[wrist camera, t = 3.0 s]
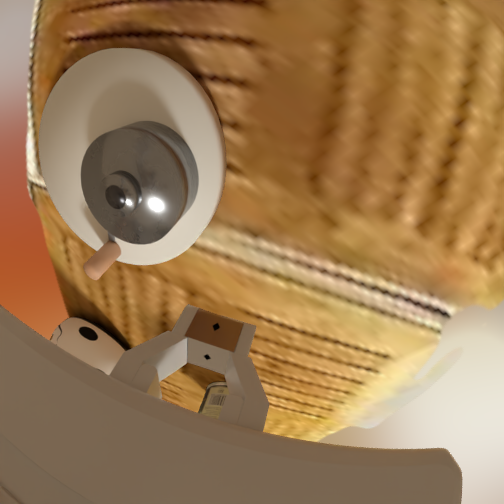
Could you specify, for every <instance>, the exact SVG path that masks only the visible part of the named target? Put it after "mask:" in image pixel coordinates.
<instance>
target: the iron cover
mask: <svg viewBox="0 0 504 504" xmlns="http://www.w3.org/2000/svg"><path fill="white" fill-rule="evenodd" d="M81 186H82V191H83V195H84V198H85V201H86V203H87V205H88V207H89V209H90V211H91V213H92V214H93V216H94V217H95V219H96V220H97V221H98V222H99V224H100V225H101V226H102V227H103V228H104V229H105V230H107V231H108V232H109V233H110V234H112V235H113V236H115V237H116V238H118V239H120V240H122V241H125V242H128V243H132V244H138V245H145V244H151V243H154V242H156V241H158V240H160V239H162V238H163V237H164V236H166V234H167V233H168V232H169V231H170V230H171V229H172V228H173V227H174V226H175V225H176V223H177V222H178V221H179V220H180V219H181V218H182V217H183V216H184V215H185V214H186V212H187V211H188V210H189V209H190V208H191V206H192V205H193V203H194V201H195V199H196V195H197V192H198V186H199V175H198V168H197V164H196V161H195V158H194V155H193V153H192V151H191V149H190V148H189V146H188V145H187V143H186V142H185V141H184V139H183V138H182V137H181V136H180V135H179V134H178V133H177V132H175V131H174V130H173V129H171V128H170V127H168V126H166V125H164V124H161V123H158V122H154V121H138V122H135V123H132V124H129V125H126V126H123V127H120V128H117V129H115V130H112V131H109V132H107V133H104V134H102V135H100V136H99V137H98V138H96V139H95V140H94V141H93V142H92V143H91V144H90V146H89V147H88V149H87V150H86V152H85V155H84V157H83V161H82V165H81Z"/></svg>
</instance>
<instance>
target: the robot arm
mask: <svg viewBox="0 0 504 504" xmlns="http://www.w3.org/2000/svg"><path fill="white" fill-rule="evenodd" d="M255 330H256V326H255V325H252V324H248V323H244V322H242V321H239V320H235V319H232V318H228V317H225V316H221V315H218V314H215V313H212V312H209V311H206V310H203V309H201V308H197V307H195V306H192V305H189V304H188V305H187V306H186V307H185V309H184V310H183V312H182V314H181V316H180V317H179V319H178V321H177V323H176V324H175V326H174V328H173V330H172V332H171V331H166V332H164V333H162V334H160V335H158V336H156V337H154V338H152V339H150V340H148V341H146V342H144V343H142V344H140V345H138V346H136V347H134V348H132V349H130V350H128V351H125V352H124V353H123V354H122V356H121V357H120V359H119V360H118V362H117V364H116V365H115V367H114V368H113V370H112V372H111V373H110V375H107V374H105V373H104V372H102V371H100V370H98V369H96V368H94V367H92V366H91V365H89V364H87V363H85V362H83V361H82V360H80V359H78V358H76V357H75V356H73V355H71V354H70V353H68V352H66V351H65V350H63V349H62V348H60V347H58V346H57V345H55V344H54V343H52V342H51V341H49V340H47V339H46V338H45V337H43V336H42V335H40V334H39V333H37V332H36V331H34V330H33V329H32V328H30V327H29V326H27V325H26V324H25V323H23V322H22V321H20V320H19V319H18V318H17V317H15V316H14V315H13V314H11V313H10V312H9V311H7V310H6V309H5V308H4V307H2V306H1V305H0V504H461V498H462V472H461V469H460V467H459V465H458V464H457V462H456V461H455V459H454V458H453V457H452V455H451V454H450V452H449V451H448V450H447V449H444V448H431V449H380V448H364V447H351V446H342V445H333V444H325V443H318V442H312V441H306V440H300V439H294V438H289V437H284V436H279V435H274V434H270V433H266V432H263V429H264V425H265V420H266V416H267V412H268V408H269V402H268V399H267V397H266V395H265V392H264V390H263V387H262V385H261V382H260V380H259V377H258V375H257V372H256V369H255V367H254V364H253V362H252V359H251V358H249V357H248V354H249V351H250V347H251V344H252V340H253V337H254V334H255ZM187 362H188V363H191V364H194V365H197V366H200V367H203V368H206V369H209V370H212V371H215V372H218V373H221V374H224V375H225V379H226V383H227V387H228V390H229V395H227V396H226V398H225V401H224V404H223V406H222V409H221V412H220V415H219V417H218V419H214V418H211V417H208V416H205V415H202V414H199V413H196V412H193V411H191V410H188V409H185V408H182V407H180V406H177V405H174V404H172V403H169V402H167V401H164V400H162V399H161V398H162V394H161V389H160V383H159V382H160V381H161V380H163V379H164V378H166V377H167V376H169V375H170V374H172V373H173V372H175V371H176V370H178V369H179V368H181V367H182V366H184V365H185V364H187Z"/></svg>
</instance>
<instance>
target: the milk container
mask: <svg viewBox="0 0 504 504" xmlns="http://www.w3.org/2000/svg"><path fill="white" fill-rule="evenodd" d="M50 341H51V342H52V343H54V344H55V345H57V346H58V347H60V348H62V349H63V350H65V351H66V352H68V353H70V354H71V355H73V356H75V357H76V358H78V359H80V360H82V361H83V362H85V363H87V364H89V365H91V366H92V367H94V368H96V369H98V370H100V371H102V372H104V373H105V374H107V375H110V373H111V372H112V370H113V368H114V367H115V365H116V364H117V362H118V360H119V359H120V357H121V356H122V354H123V353H124V352H125V351H128V350H127V349H126V348H125V347H124V346H123V344H122V343H121V342H120V341H118V340H117V339H116V338H115V337H114V336H113V335H112V334H110V333H109V332H108V331H106V330H105V329H103V328H102V327H100V326H99V325H97V324H95V323H93V322H91V321H89V320H87V319H84V318H79V317H71V318H68V319H66V320H65V321H63V322H62V323H61V324H60V325H59V326H58V327H57V328H56V329H55V331H54V332H53V334H52V336H51V338H50Z"/></svg>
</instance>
